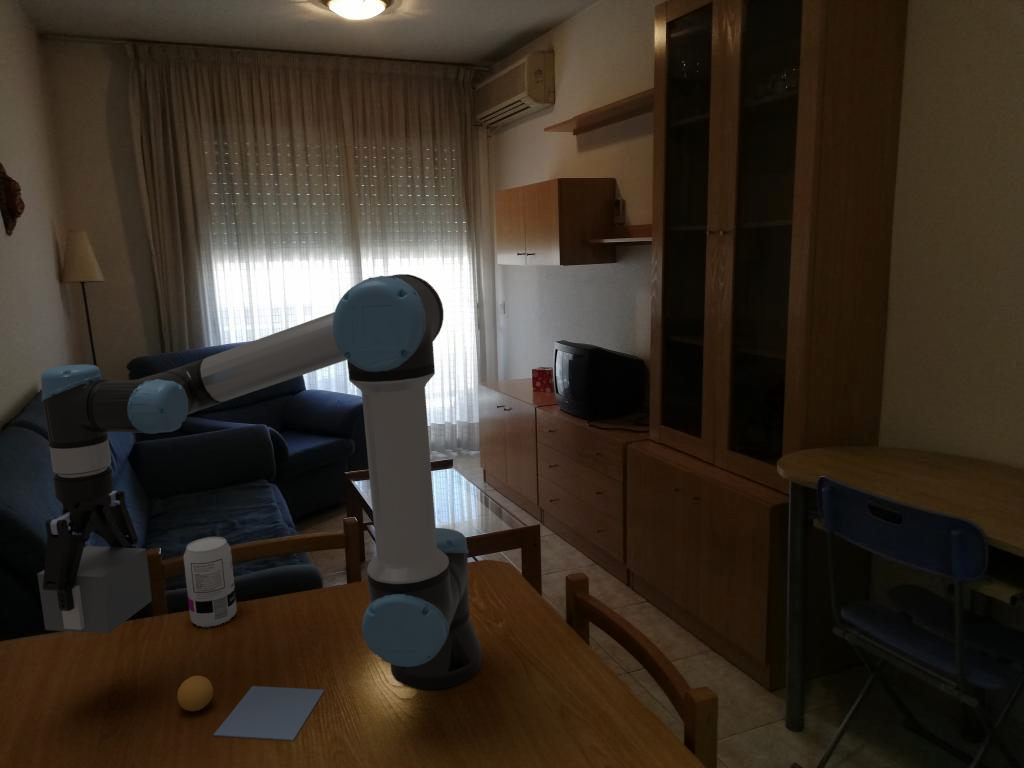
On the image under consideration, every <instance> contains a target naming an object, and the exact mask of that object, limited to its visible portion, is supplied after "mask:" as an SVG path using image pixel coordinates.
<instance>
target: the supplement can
mask: <svg viewBox="0 0 1024 768" xmlns="http://www.w3.org/2000/svg"><path fill="white" fill-rule="evenodd" d="M183 563H184V565H183V566H184V574H185V584H186V593H187V601H188V608H189V609H188V610H189V620H190V622H191V623H192V624H194V625H195V624H196V626H197V627H199V626H201V627H200V628H213V627H212V626H214V627H218V626H221V625H223V624H222V623H224V624H226V623H227V621H228V622H229V621H231V620H232V619H233V618H234V616H235V615H236V614H237V611H238V607H237V597H236V596H237V595H236V587H235V578H234V567H233V556H232V547H231V546H230V545H229V543H228V541H227V540H226V538H224V537H222V536H221V537H220V536H207V537H203V538H199V539H195V540H193V541H191V542H188V544H186V547H185V551H184V554H183ZM232 617H233V618H232ZM231 618H232V619H231ZM230 619H231V620H230ZM225 622H226V623H225ZM220 624H221V625H220ZM217 625H218V626H217ZM210 626H211V627H210Z"/></svg>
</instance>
